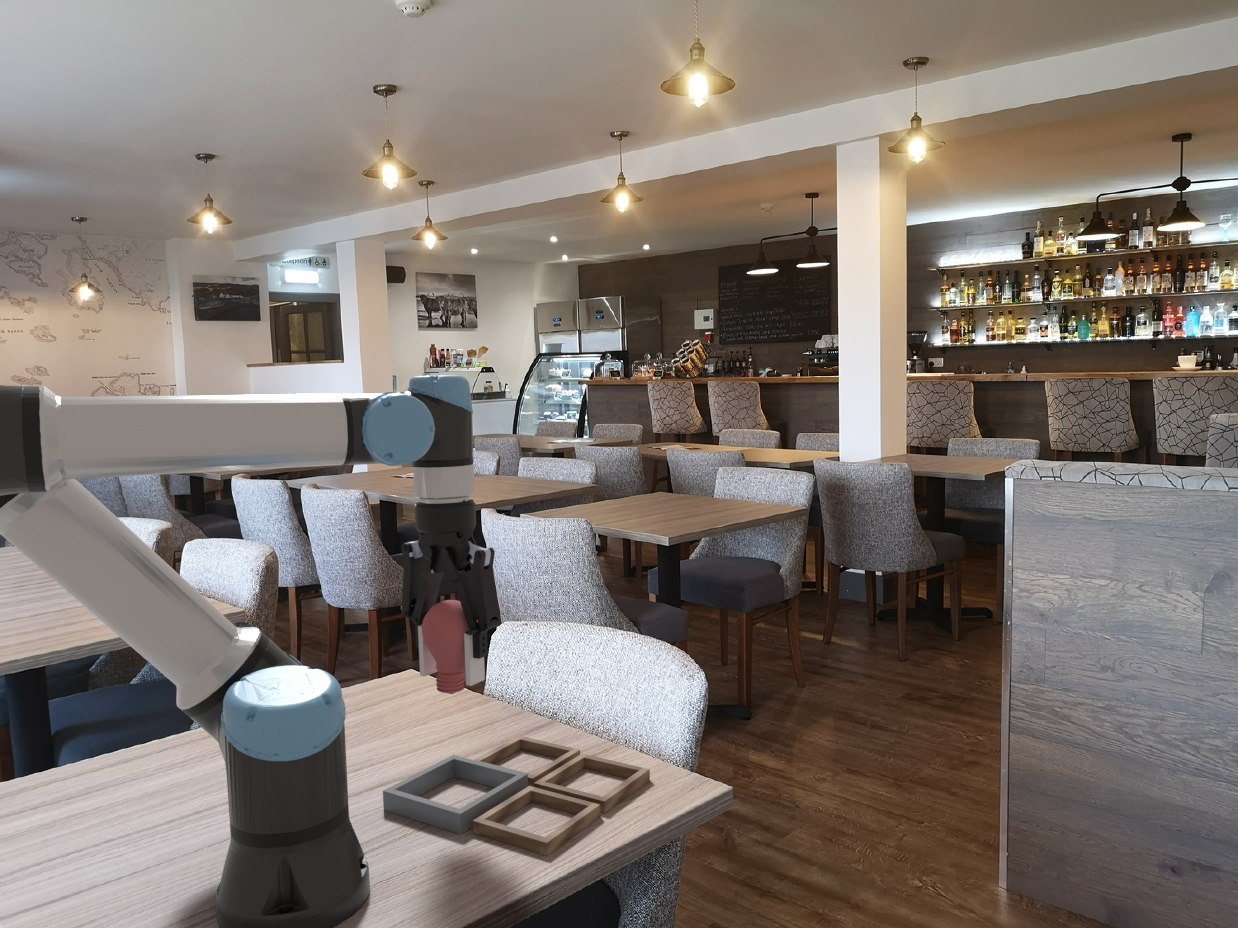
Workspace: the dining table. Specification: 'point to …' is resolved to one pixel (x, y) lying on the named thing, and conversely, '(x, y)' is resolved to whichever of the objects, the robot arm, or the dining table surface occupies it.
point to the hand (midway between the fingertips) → (452, 677)
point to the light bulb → (447, 643)
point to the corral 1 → (457, 820)
